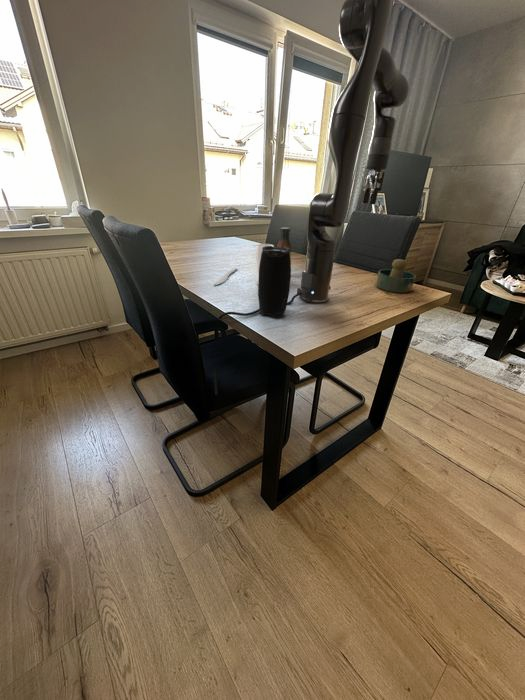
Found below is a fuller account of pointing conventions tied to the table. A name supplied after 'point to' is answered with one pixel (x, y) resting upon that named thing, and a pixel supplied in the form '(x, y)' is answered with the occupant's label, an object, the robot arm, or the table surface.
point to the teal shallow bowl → (395, 281)
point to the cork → (398, 268)
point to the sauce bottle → (285, 239)
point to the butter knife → (225, 276)
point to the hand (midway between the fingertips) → (368, 203)
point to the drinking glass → (258, 256)
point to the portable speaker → (274, 280)
